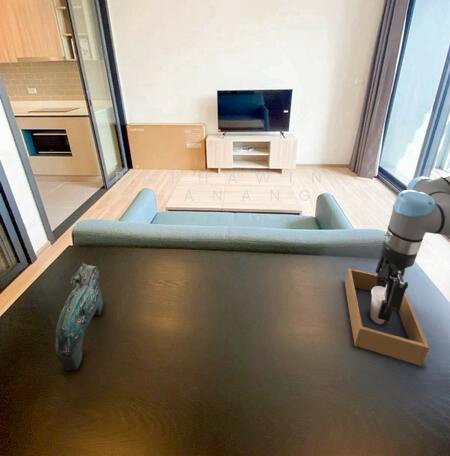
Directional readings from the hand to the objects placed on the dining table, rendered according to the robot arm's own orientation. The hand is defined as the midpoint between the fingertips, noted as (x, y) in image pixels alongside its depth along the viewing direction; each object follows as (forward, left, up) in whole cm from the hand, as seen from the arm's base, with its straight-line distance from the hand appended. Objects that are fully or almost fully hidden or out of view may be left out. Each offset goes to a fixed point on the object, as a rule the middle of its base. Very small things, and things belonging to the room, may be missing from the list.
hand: (380, 307), depth 73 cm
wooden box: (0, 0, -4) cm, 4 cm away
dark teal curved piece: (+80, +31, -5) cm, 86 cm away
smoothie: (0, 0, -5) cm, 5 cm away
